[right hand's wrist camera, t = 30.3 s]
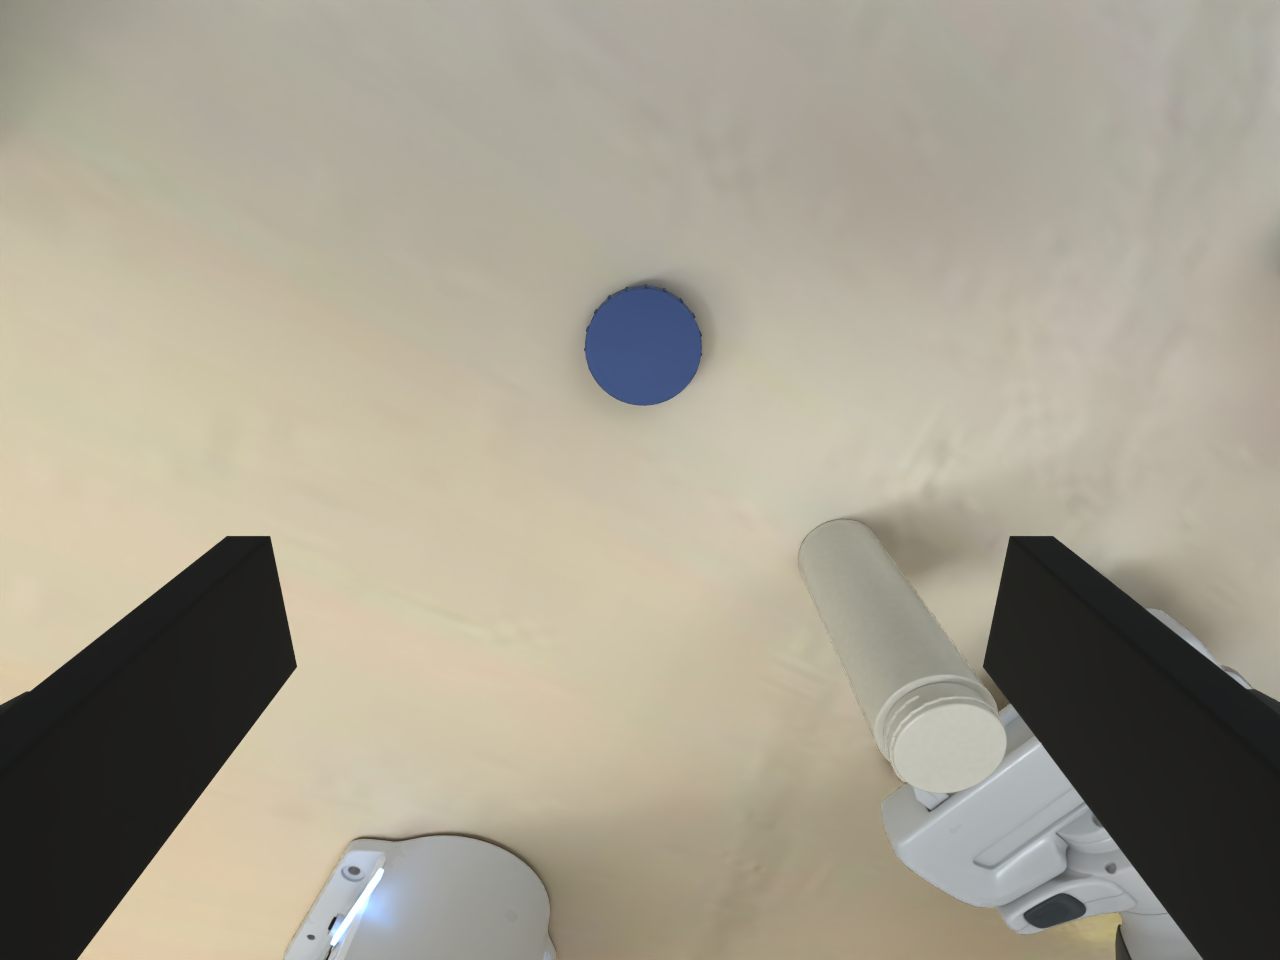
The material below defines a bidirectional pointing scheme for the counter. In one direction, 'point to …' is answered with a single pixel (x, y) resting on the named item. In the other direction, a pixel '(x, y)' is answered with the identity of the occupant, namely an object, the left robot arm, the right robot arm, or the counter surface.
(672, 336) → the lid
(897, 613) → the jar
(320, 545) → the counter surface
